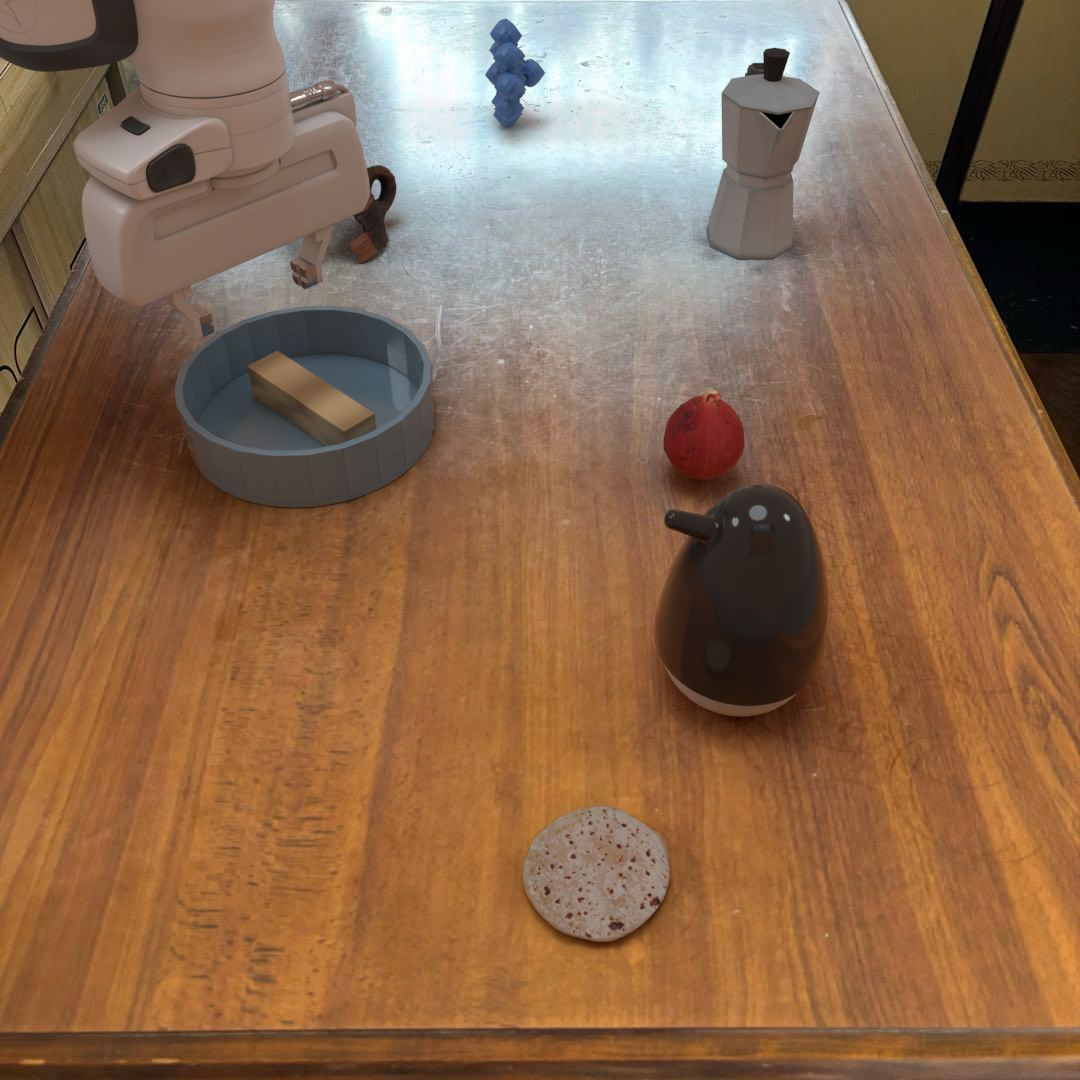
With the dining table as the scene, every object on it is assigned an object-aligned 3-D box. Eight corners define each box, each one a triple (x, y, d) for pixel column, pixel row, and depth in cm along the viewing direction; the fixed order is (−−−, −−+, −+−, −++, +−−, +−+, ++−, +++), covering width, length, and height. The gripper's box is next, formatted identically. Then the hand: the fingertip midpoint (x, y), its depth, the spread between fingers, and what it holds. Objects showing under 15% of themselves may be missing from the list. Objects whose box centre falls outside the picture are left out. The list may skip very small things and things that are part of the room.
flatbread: (581, 973, 56) (581, 964, 55) (496, 862, 60) (495, 853, 59) (701, 885, 59) (703, 876, 58) (613, 787, 63) (614, 777, 63)
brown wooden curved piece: (345, 284, 104) (292, 207, 99) (305, 285, 111) (254, 215, 107) (434, 210, 107) (386, 133, 103) (389, 216, 115) (343, 145, 111)
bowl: (141, 429, 87) (124, 377, 84) (331, 330, 97) (323, 280, 94) (291, 546, 78) (280, 493, 74) (485, 422, 88) (482, 371, 84)
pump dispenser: (636, 619, 73) (652, 440, 62) (791, 611, 73) (834, 432, 63) (658, 748, 66) (682, 570, 55) (830, 738, 66) (886, 560, 55)
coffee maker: (805, 271, 104) (841, 79, 92) (712, 271, 104) (736, 79, 92) (779, 196, 115) (809, 16, 103) (695, 197, 115) (714, 16, 102)
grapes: (549, 146, 123) (551, 36, 115) (489, 149, 123) (486, 38, 115) (540, 104, 132) (540, -3, 123) (483, 106, 131) (480, -1, 123)
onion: (676, 509, 81) (687, 422, 75) (649, 460, 84) (657, 374, 79) (749, 494, 82) (765, 408, 76) (719, 446, 86) (732, 361, 80)
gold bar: (253, 396, 89) (246, 365, 87) (283, 380, 91) (277, 350, 89) (348, 462, 83) (343, 431, 81) (378, 444, 85) (374, 413, 83)
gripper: (320, 59, 76) (341, 241, 86) (47, 149, 65) (105, 346, 75) (380, 85, 73) (394, 271, 83) (104, 184, 62) (157, 384, 72)
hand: (255, 307), depth 79 cm, fingers open, 8 cm apart
